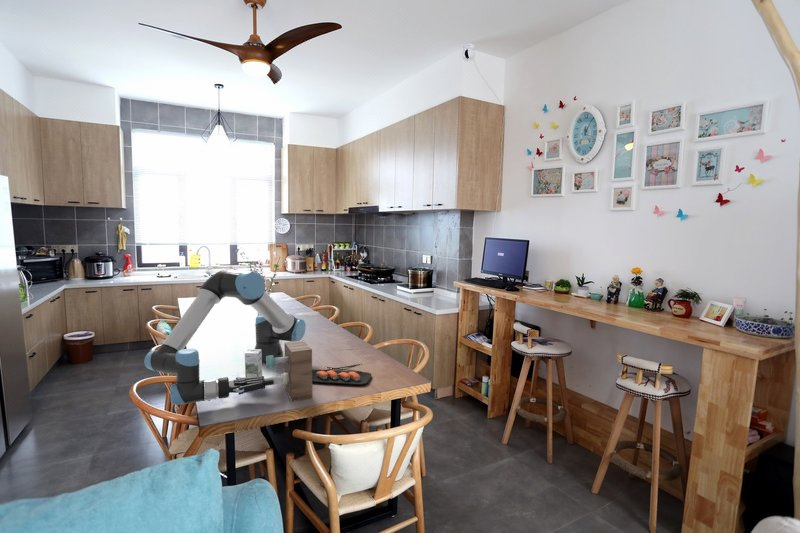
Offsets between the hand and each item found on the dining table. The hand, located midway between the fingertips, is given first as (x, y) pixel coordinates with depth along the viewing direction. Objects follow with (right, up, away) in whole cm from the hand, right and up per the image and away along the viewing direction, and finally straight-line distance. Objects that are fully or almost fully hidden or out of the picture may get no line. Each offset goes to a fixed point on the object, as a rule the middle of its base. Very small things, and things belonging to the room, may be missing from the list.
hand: (281, 379), depth 167 cm
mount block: (+6, -7, +4) cm, 10 cm away
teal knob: (0, +6, 0) cm, 6 cm away
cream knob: (+5, -2, +3) cm, 6 cm away
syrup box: (-16, -6, +14) cm, 22 cm away
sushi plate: (+21, -5, +28) cm, 35 cm away
